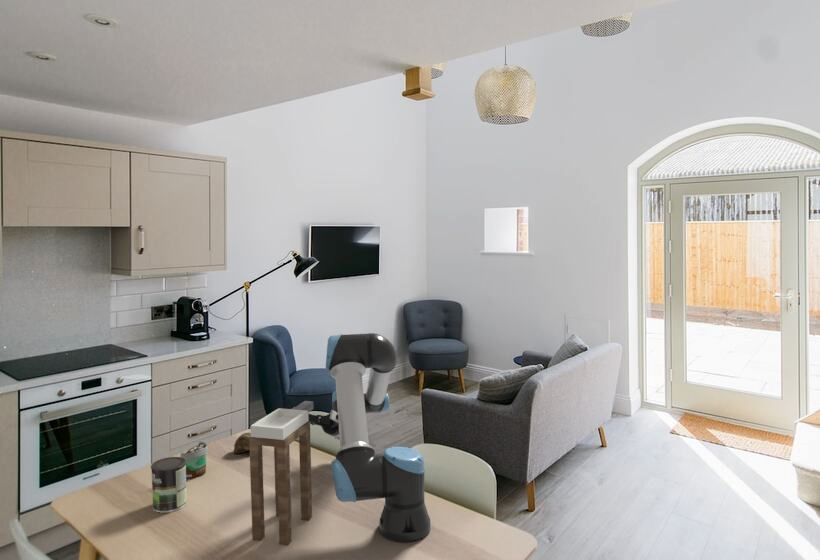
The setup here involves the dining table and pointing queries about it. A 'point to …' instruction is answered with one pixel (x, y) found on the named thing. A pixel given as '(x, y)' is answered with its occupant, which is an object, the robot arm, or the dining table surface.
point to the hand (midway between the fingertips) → (312, 412)
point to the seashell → (242, 443)
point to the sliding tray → (282, 422)
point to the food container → (195, 460)
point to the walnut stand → (280, 482)
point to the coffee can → (169, 484)
